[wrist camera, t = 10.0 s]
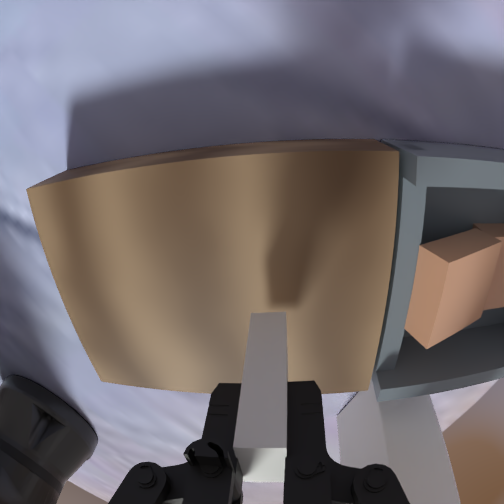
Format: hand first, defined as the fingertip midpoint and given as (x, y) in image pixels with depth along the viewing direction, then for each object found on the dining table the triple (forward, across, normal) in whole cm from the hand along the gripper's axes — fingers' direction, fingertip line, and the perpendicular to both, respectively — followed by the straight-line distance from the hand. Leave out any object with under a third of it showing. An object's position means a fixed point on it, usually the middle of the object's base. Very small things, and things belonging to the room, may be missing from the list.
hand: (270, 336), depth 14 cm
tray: (+5, +13, +1) cm, 14 cm away
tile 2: (+3, +10, +1) cm, 10 cm away
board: (+6, -3, +1) cm, 7 cm away
